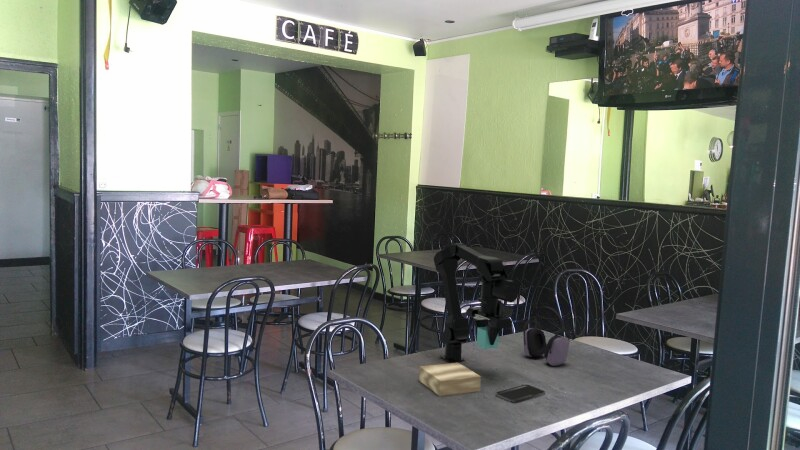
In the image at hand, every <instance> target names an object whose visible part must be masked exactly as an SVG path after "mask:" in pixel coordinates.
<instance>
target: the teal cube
mask: <svg viewBox="0 0 800 450" xmlns="http://www.w3.org/2000/svg"><path fill="white" fill-rule="evenodd" d="M476 331H477V332H476V346H478V347H479V348H482V349H484V350H489V349H491V350H492V349H497V348H499V334H498V335H497V338H496V340H495V342H494V345H490V342H489V337H488V331H487V326H486V327H478V328H477V329H476Z"/></svg>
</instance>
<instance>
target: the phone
mask: <svg viewBox="0 0 800 450" xmlns="http://www.w3.org/2000/svg"><path fill="white" fill-rule="evenodd" d="M545 395H546V390H543V389H540V388H538V387H536V386H532V385H530V384H523V385H519V386H515V387H511V388H508V389H503V390H500V391H496V392H495V397H497V398H500V399H502V400H503V399H504V401H506V402H508V403H510V402H511V403H510V404H519V403H521V402H526V401H528V400H532V399H534V398H535V399H536V398H538V397H542V396H545Z"/></svg>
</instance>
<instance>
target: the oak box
mask: <svg viewBox="0 0 800 450" xmlns="http://www.w3.org/2000/svg"><path fill="white" fill-rule="evenodd" d="M481 380H482V376H481V375H479V374H478V373H476V372H474V371H473V370H472V369H469V368H468V367H467V366H465V365H463V364H461V363H459V362H448V363H440V364H430V365H420V366H419V379H418V381H419V382H421V383H422V384H423V385H424V386H425V387H427V388H428V389H430V391H432V392H434V393H435V394H436V395H437V396H439V397H445V396H452V395H459V394H460V395H461V394H468V393H476V391H477V392H481V384H482V383H481V382H482V381H481Z"/></svg>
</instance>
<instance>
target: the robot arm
mask: <svg viewBox="0 0 800 450" xmlns="http://www.w3.org/2000/svg"><path fill="white" fill-rule="evenodd" d="M461 260H464V261H465V262H467V263H468V264H470V265H473V267H475V268H476V271H477V273H479V274H480V277H478V278H477V281H479V282H481V292H480V297H479V298H478V299H477V301H478V302H479V303H480V306H473V307H472V306H471V307H468V308H467V309H466V316H467V317H465V316H464V315H463V314H462V308H461V302H460V296H459V291H458V283H457V278H456V273H457V270H458V268H459V261H461ZM433 263H434V266H435V267H434V268H435V270H436V271H437V273H438V274H439V275H440V276H441V281H442V287H443V294H444V300H445V307H446V312H447V317H446V320H445V323H444V330H443V332H442V333H441V334H440V335H439V341H440V343H442V344H444V355H440V358H441V359H444V360H445V361H446V362H448V363H457V362H463V361H465V358H463V357H462V350H463V349H462V344H463V343H467V341H468V339H469V336H470V334H471V333H470V332H471V331H470V329H471V327H470V323H469V322H470V320H469V318H471V321H472V323H473V325H474V326H475V328H476V330H477V328H478V327H487V331H488V337H489V342H490V345H494V342H495V340H496V338H497V335H498V336H499V333H500V332H501V330H502V329H509V328H513V320H512V319H511V317H512V315H513V311H514V308H511V307H509V306H506V305H504V302H507V303H514V302H516V300H517V299H518V297H519V291H518V287H517V286H516V285H515V281H514V280H511V279H510V277H509V274H508V272H507V270H506V268H505V265H504V263H503V261H502V259H500V258H498V257H494V256H489V255H488V256H487V255H484V254H482V253H480V252H479V251H476V250H474V249H473V248H471V247H468V245H466V244H465V243H461V242H460V243H459V242H458V243H452V244H451V245H449V246H448V247H445V248H443V249H441V250H440V251H437V252H436V253H435V255H434V256H433ZM503 301H504V302H503ZM489 322H490V324H488V323H489Z"/></svg>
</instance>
